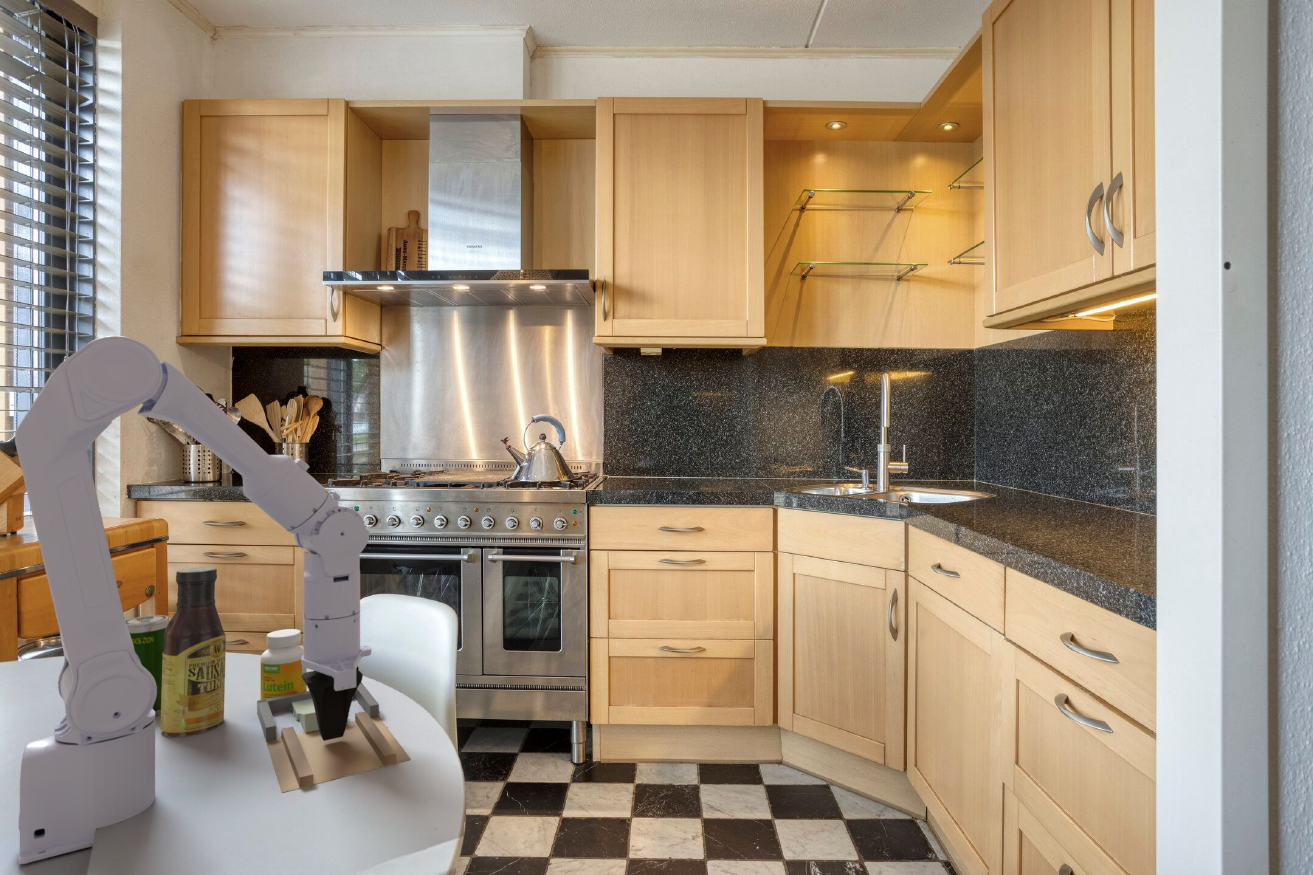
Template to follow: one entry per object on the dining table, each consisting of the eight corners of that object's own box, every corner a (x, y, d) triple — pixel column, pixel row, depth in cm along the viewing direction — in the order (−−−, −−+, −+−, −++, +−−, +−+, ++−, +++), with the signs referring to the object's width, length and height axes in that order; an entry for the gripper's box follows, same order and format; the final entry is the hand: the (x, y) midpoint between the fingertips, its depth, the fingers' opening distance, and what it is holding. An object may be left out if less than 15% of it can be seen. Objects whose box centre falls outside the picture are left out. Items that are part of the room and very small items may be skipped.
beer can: (172, 713, 90) (172, 620, 90) (119, 724, 86) (120, 627, 86) (168, 701, 94) (168, 612, 94) (118, 711, 90) (118, 619, 91)
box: (266, 754, 78) (266, 727, 78) (257, 724, 86) (257, 700, 86) (378, 728, 85) (378, 704, 85) (360, 703, 93) (360, 681, 93)
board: (282, 808, 66) (282, 781, 66) (266, 754, 78) (265, 732, 78) (411, 773, 73) (411, 749, 73) (378, 728, 85) (378, 708, 85)
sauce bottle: (192, 752, 78) (192, 575, 79) (146, 747, 80) (146, 573, 80) (238, 728, 85) (238, 565, 85) (195, 725, 86) (194, 564, 86)
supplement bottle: (255, 716, 89) (255, 639, 89) (266, 701, 94) (266, 629, 94) (301, 711, 90) (301, 636, 90) (310, 697, 95) (310, 626, 95)
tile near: (305, 732, 80) (304, 714, 80) (299, 730, 83) (299, 713, 84) (347, 723, 82) (346, 705, 83) (340, 721, 86) (339, 704, 86)
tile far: (296, 730, 84) (296, 713, 84) (291, 718, 87) (291, 702, 87) (337, 721, 86) (337, 705, 86) (330, 710, 90) (330, 694, 90)
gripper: (386, 621, 74) (386, 750, 74) (355, 597, 86) (356, 708, 85) (313, 632, 70) (313, 768, 70) (291, 605, 81) (291, 721, 81)
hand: (332, 736), depth 77 cm, fingers closed
